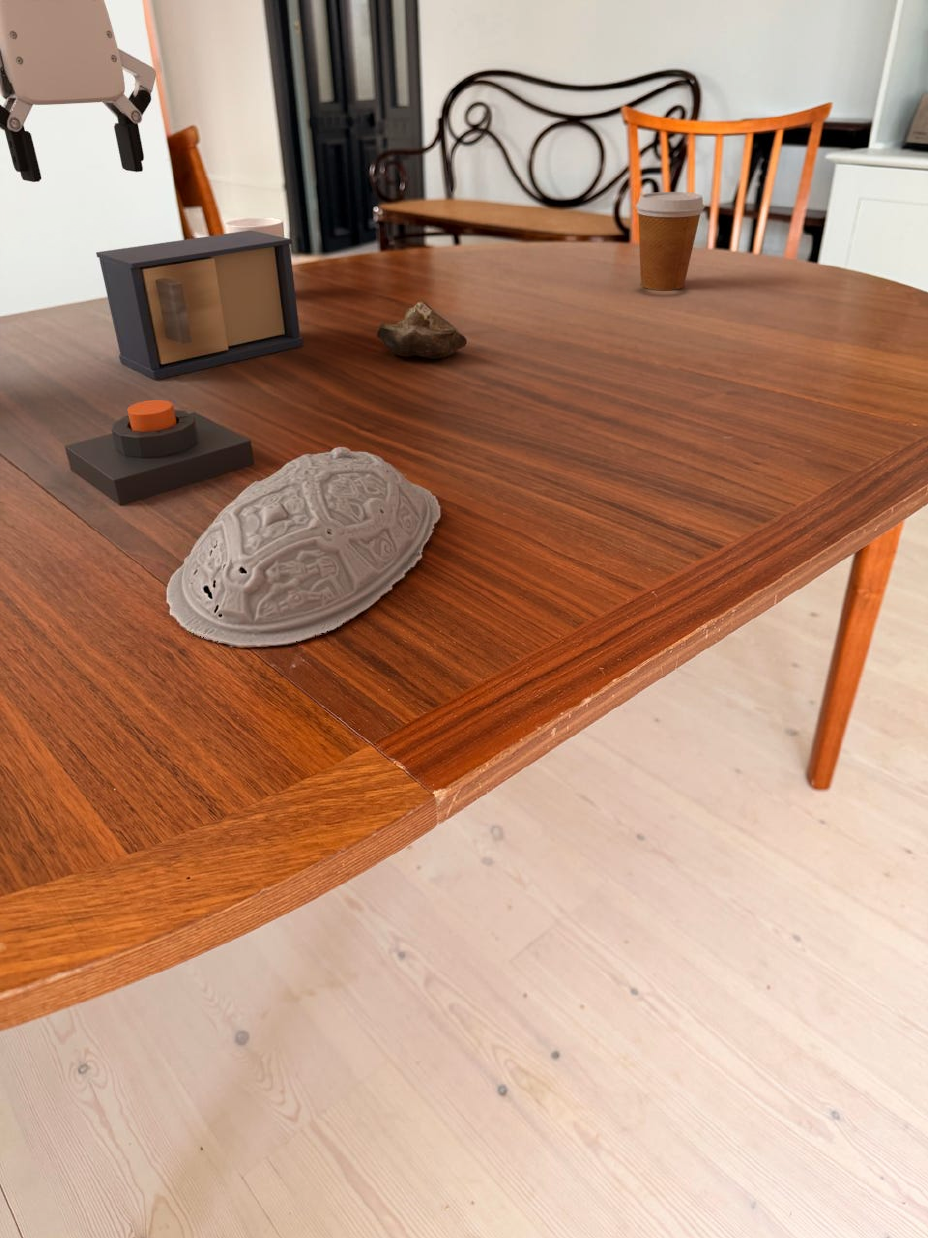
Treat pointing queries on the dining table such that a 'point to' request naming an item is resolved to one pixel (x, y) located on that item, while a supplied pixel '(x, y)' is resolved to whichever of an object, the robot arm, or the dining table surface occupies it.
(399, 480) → the grey embossed domed part
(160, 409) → the orange button
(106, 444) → the switch block
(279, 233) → the white cup
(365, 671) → the dining table surface
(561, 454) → the dining table surface
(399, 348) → the fossilized seashell
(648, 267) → the disposable coffee cup
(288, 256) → the closet
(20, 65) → the robot arm
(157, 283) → the closet door
